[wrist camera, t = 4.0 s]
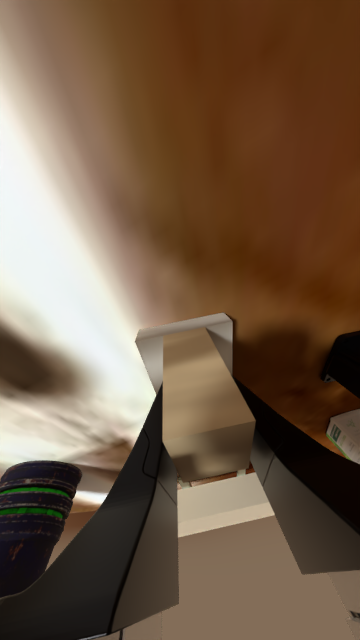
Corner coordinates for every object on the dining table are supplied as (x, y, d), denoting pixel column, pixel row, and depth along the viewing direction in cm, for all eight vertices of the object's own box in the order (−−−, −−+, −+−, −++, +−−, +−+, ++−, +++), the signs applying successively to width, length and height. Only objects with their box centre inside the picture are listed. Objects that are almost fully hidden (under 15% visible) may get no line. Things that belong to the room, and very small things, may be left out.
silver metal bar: (138, 329, 11) (99, 454, 4) (223, 312, 11) (317, 407, 4) (185, 455, 22) (194, 546, 15) (227, 446, 22) (255, 531, 15)
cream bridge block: (268, 435, 22) (302, 494, 16) (263, 458, 26) (288, 511, 21) (145, 462, 22) (139, 532, 16) (159, 481, 26) (158, 541, 20)
